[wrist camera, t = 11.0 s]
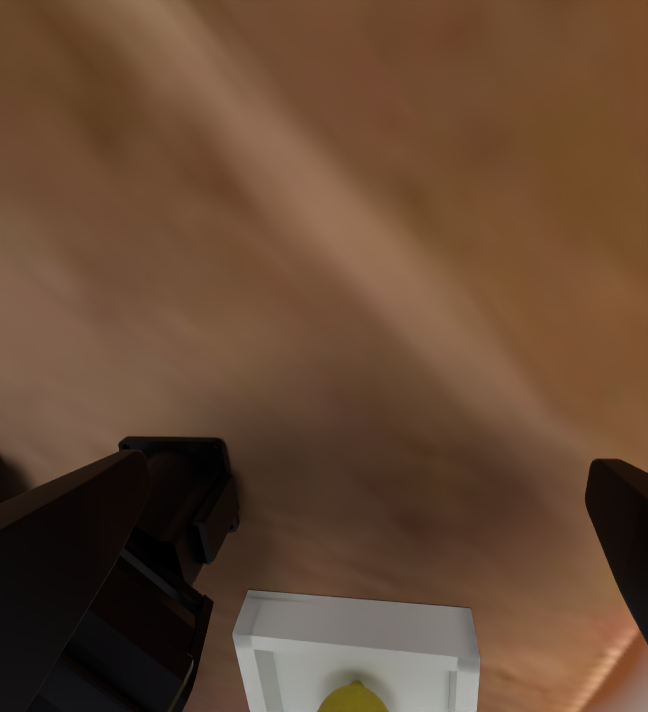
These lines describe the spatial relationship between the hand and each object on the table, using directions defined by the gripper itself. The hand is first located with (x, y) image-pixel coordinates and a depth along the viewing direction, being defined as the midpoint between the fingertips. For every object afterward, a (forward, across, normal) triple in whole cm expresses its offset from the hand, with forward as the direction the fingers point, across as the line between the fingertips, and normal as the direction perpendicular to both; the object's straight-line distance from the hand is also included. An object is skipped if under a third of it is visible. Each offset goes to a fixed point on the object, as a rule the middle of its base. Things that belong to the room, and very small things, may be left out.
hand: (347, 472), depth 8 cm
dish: (+12, +2, +26) cm, 29 cm away
